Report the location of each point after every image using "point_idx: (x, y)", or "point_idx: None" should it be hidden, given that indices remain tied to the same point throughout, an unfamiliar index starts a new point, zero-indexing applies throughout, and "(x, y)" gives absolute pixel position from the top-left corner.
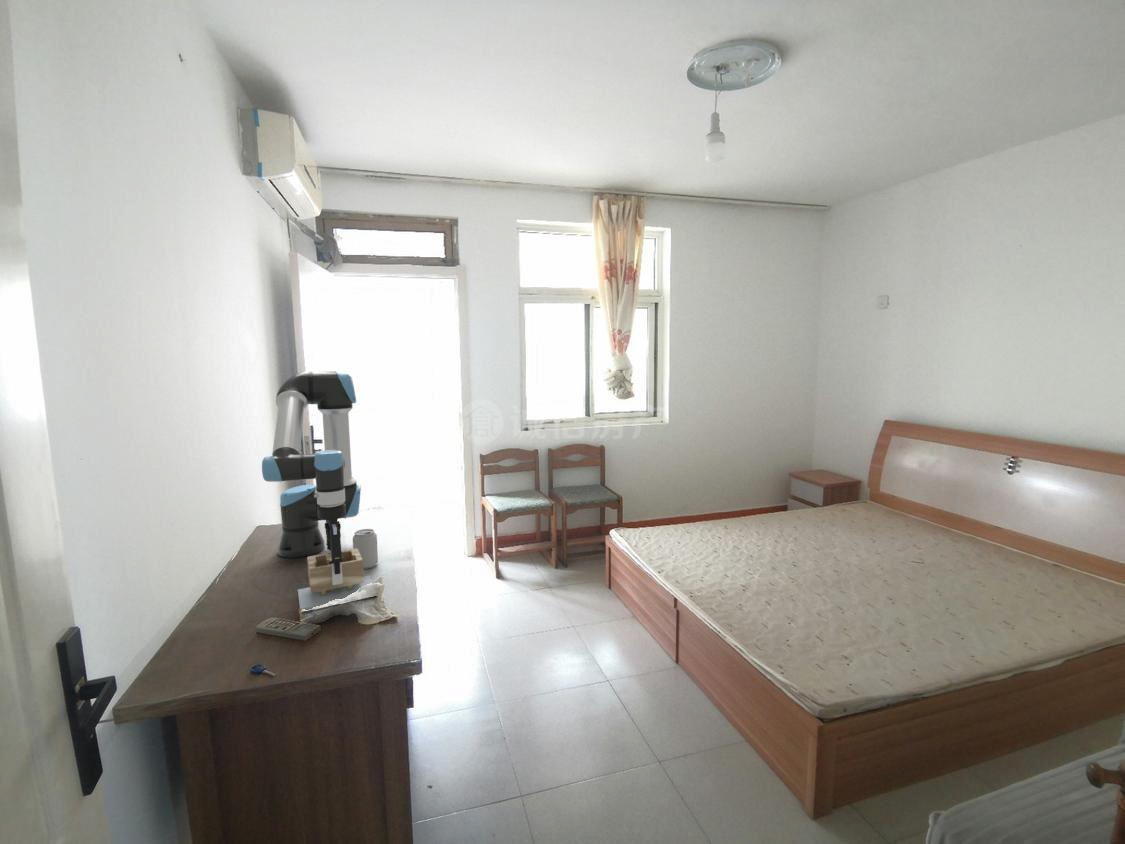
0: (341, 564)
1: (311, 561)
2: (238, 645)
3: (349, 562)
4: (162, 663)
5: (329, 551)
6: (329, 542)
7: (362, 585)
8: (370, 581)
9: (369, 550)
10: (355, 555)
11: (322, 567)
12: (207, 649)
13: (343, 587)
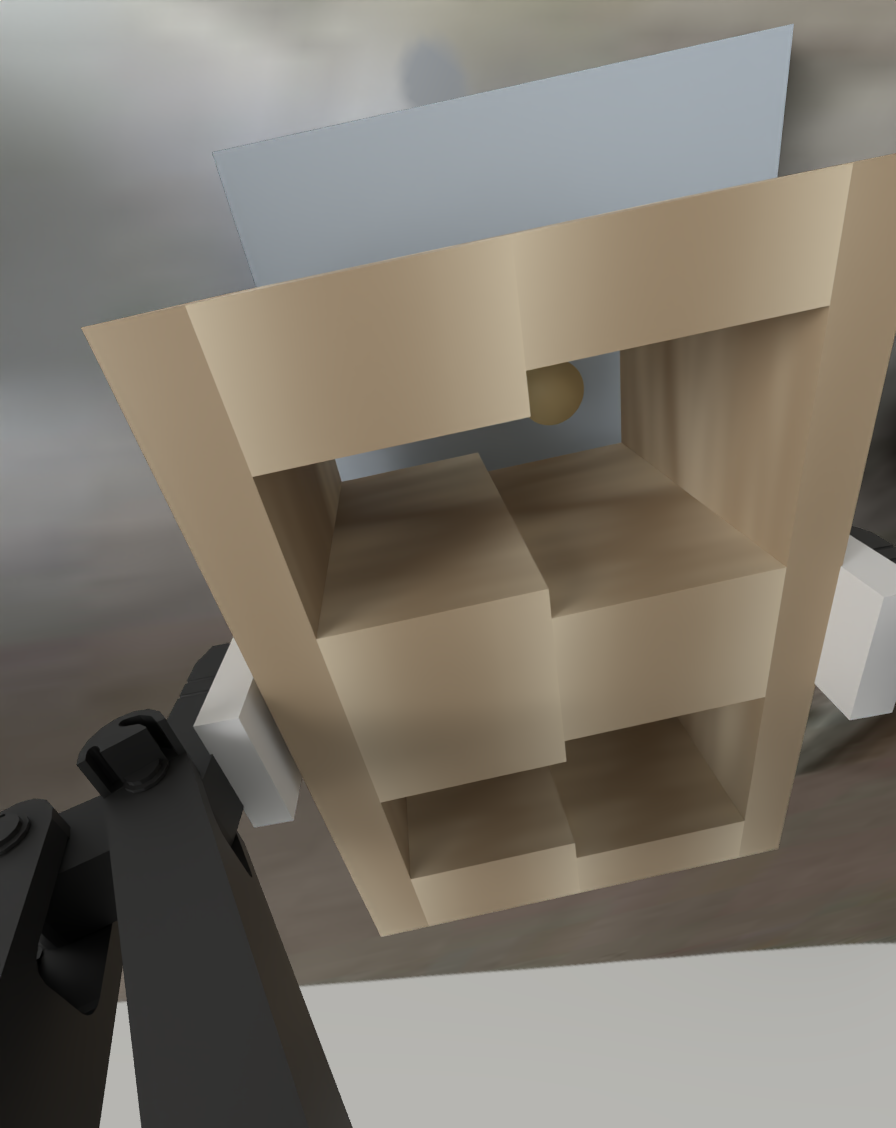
0: (883, 564)
1: (546, 880)
2: (878, 799)
3: (865, 445)
4: (835, 929)
5: (283, 797)
6: (296, 983)
7: (500, 233)
8: (413, 125)
9: None
10: (565, 350)
11: (797, 759)
12: (829, 867)
13: (478, 432)
